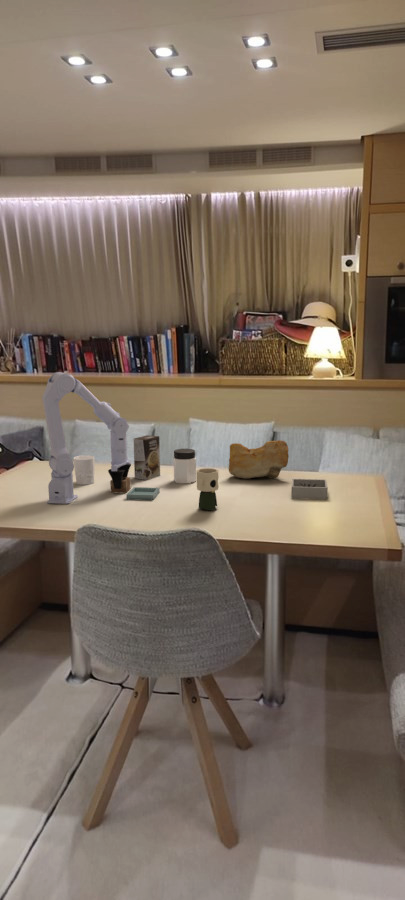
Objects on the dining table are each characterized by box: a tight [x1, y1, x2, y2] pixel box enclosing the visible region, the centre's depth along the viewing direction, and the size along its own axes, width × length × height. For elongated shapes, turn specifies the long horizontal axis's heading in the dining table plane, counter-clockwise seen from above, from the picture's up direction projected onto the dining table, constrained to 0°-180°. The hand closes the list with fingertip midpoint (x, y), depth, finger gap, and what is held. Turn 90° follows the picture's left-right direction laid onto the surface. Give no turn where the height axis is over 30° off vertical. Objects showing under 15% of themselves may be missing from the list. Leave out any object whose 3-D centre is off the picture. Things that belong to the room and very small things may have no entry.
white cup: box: [73, 454, 95, 486], centre depth 239 cm, size 8×8×10 cm
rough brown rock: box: [228, 440, 290, 479], centre depth 245 cm, size 23×17×15 cm
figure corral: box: [290, 478, 329, 500], centre depth 219 cm, size 11×12×4 cm
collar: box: [110, 476, 132, 494], centre depth 227 cm, size 6×6×4 cm
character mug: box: [196, 467, 220, 511], centre depth 203 cm, size 11×7×13 cm, turn 153°
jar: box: [173, 448, 197, 484], centre depth 239 cm, size 9×8×12 cm
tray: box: [125, 486, 161, 501], centre depth 220 cm, size 10×10×2 cm
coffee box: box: [133, 434, 161, 481], centre depth 246 cm, size 9×6×16 cm
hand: (120, 485), depth 227 cm, fingers open, 6 cm apart
